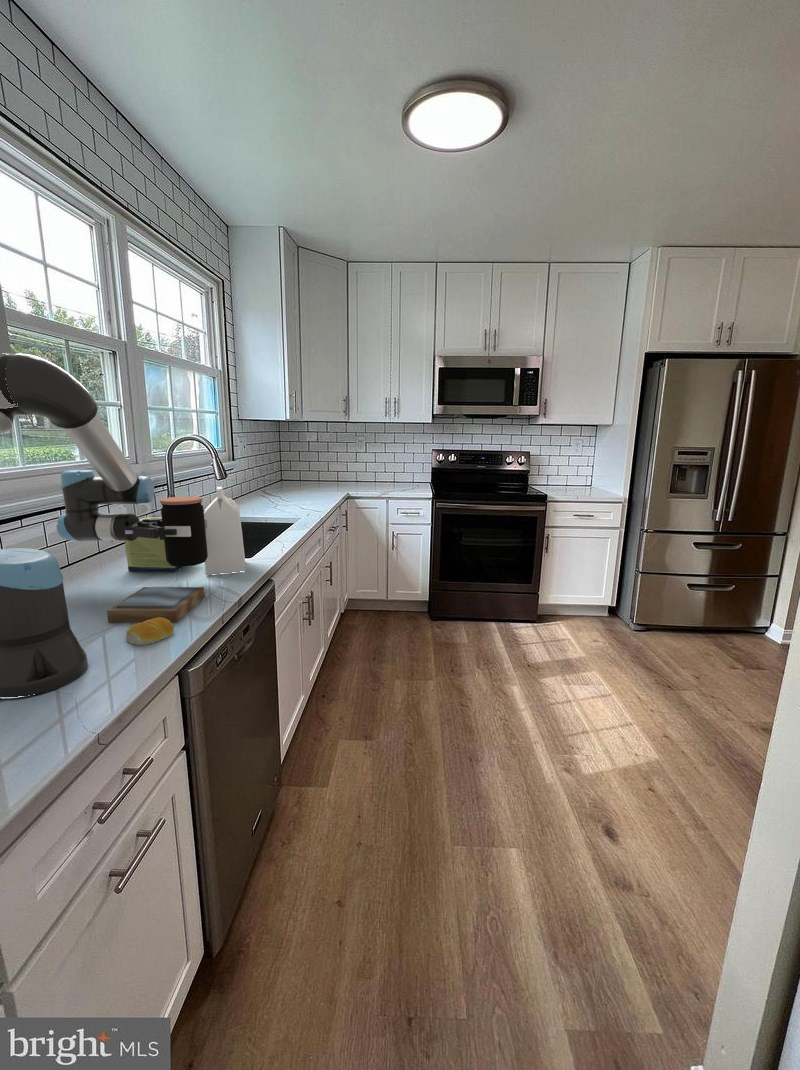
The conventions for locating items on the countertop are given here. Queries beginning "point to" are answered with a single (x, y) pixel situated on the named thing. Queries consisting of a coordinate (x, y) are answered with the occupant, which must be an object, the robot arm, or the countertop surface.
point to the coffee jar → (185, 514)
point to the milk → (224, 536)
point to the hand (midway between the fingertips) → (199, 527)
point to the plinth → (157, 604)
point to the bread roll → (149, 631)
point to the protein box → (148, 554)
